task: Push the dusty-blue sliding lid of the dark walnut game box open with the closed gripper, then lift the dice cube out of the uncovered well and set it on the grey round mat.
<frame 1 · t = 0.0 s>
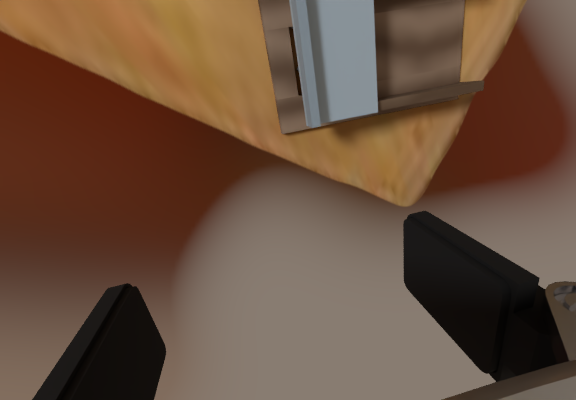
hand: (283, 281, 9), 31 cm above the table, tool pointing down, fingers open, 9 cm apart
sliding lid: (339, 50, 30), point 7 cm above the table, slide at 0.0 cm
game box: (321, 58, 36), on the table
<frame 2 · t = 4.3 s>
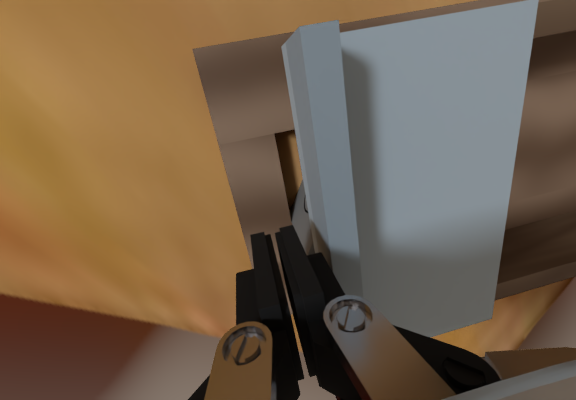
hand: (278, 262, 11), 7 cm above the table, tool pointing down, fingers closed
sliding lid: (426, 225, 11), point 7 cm above the table, slide at 0.8 cm, touching gripper
game box: (345, 181, 17), on the table
dice cube: (335, 190, 18), resting in game box
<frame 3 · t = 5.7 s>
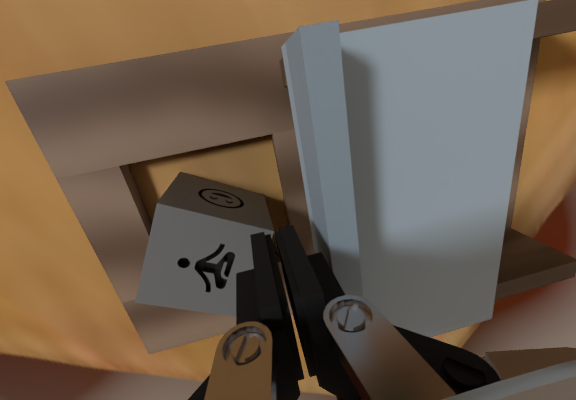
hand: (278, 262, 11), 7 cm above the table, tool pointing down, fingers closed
sliding lid: (426, 225, 11), point 7 cm above the table, slide at 8.9 cm, touching gripper
game box: (219, 210, 17), on the table
dice cube: (213, 219, 17), resting in game box
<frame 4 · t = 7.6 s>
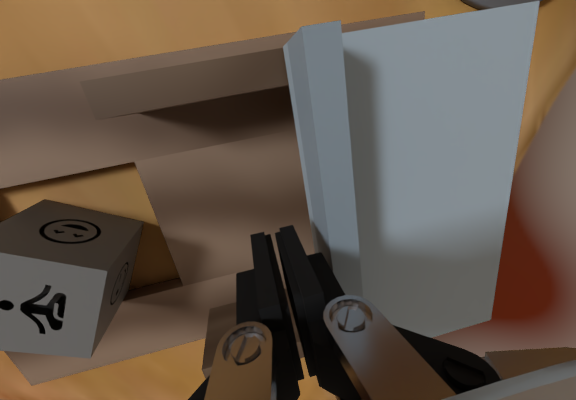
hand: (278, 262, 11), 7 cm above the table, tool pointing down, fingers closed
sliding lid: (426, 225, 11), point 7 cm above the table, slide at 16.1 cm, touching gripper
game box: (95, 238, 16), on the table
dice cube: (92, 246, 16), resting in game box
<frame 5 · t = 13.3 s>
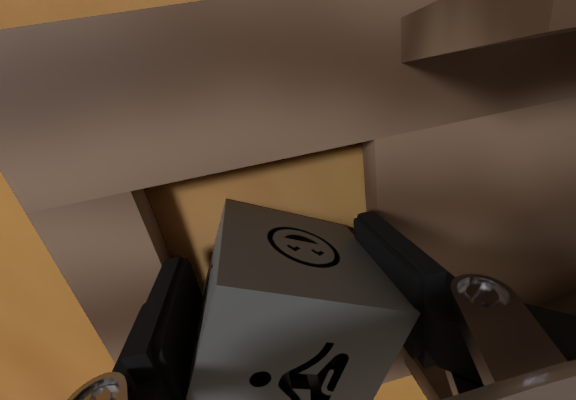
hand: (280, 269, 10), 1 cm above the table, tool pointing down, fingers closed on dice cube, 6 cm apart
game box: (276, 251, 11), on the table
dice cube: (271, 263, 12), resting in game box, touching gripper
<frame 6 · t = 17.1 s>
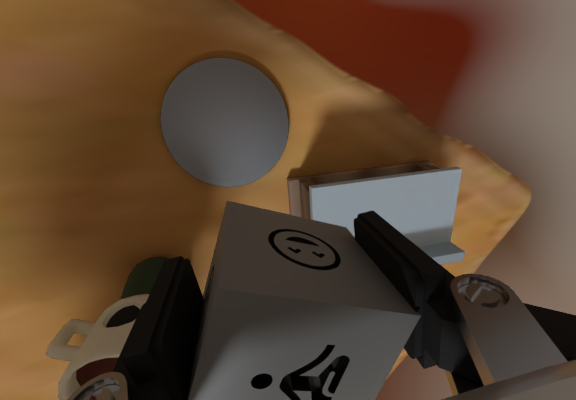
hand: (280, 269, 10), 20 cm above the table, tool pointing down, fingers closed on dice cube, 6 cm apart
character mug: (161, 277, 31), on the table
sliding lid: (390, 225, 26), point 7 cm above the table, slide at 16.2 cm
game box: (357, 307, 38), on the table
dice cube: (272, 265, 12), point 18 cm above the table, touching gripper
round mat: (227, 126, 27), on the table
when the fingers open (3 cm above the table, at t = 21.2 s): dice cube drops 1 cm, resting on round mat.
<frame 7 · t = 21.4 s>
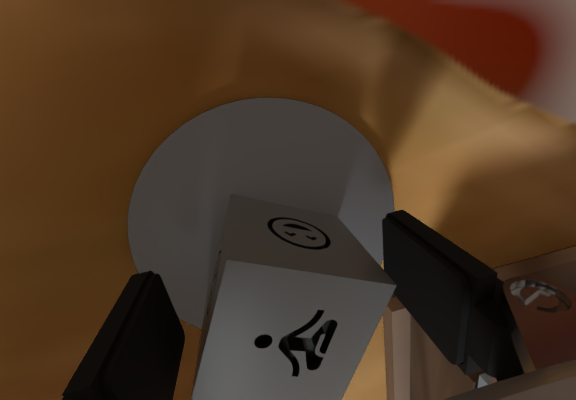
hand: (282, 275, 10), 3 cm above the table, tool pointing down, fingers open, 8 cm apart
dice cube: (271, 252, 13), resting on round mat
round mat: (270, 232, 13), on the table
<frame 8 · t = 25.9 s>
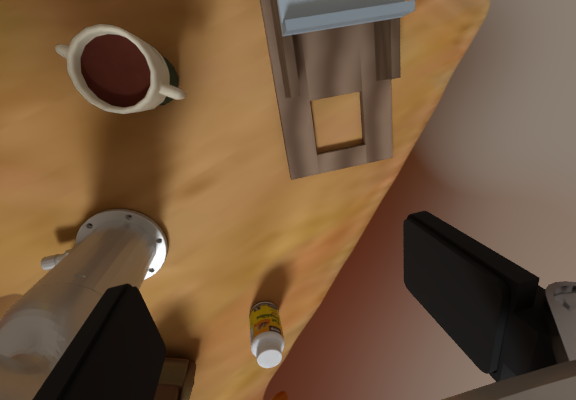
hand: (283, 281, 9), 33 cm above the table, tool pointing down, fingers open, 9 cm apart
character mug: (154, 80, 35), on the table
supplement bottle: (263, 310, 52), on the table
game box: (336, 123, 42), on the table
wooden toy train: (160, 383, 54), on the table
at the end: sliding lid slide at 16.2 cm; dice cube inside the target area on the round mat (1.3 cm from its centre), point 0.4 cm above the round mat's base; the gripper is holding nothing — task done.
